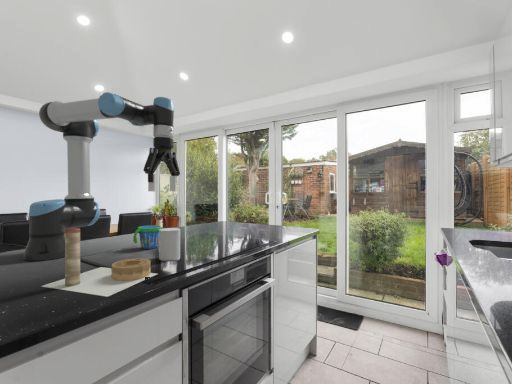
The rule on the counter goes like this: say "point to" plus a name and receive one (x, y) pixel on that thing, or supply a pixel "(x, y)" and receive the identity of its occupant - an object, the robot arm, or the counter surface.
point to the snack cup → (148, 236)
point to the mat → (96, 283)
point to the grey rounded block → (169, 244)
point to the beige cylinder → (72, 256)
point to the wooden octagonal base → (130, 269)
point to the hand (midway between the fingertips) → (163, 191)
